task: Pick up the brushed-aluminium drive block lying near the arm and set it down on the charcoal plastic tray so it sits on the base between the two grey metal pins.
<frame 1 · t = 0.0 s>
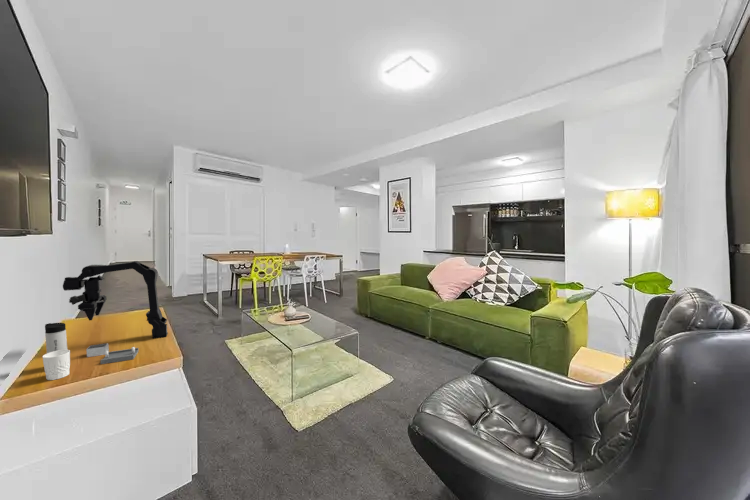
hand: (94, 317, 156), 15 cm above the tv stand, fingers open, 9 cm apart
drive: (98, 354, 146), on the tv stand
travel mug: (58, 367, 132), on the tv stand
white cup: (58, 376, 124), on the tv stand
tray: (120, 357, 142), on the tv stand
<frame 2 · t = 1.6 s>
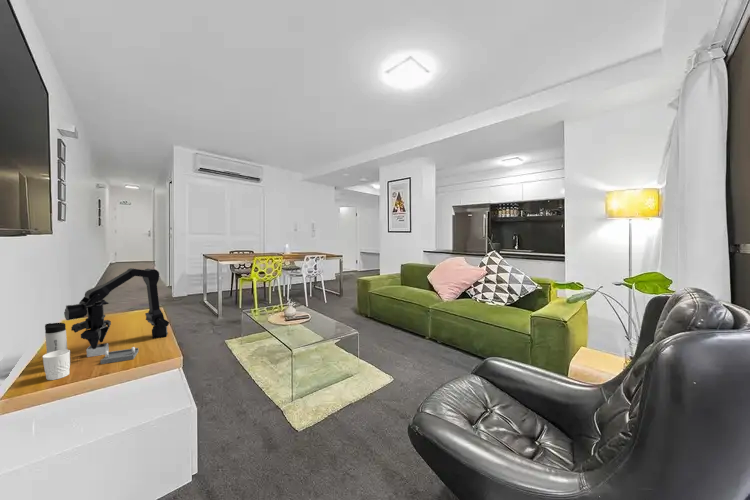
hand: (97, 345, 146), 4 cm above the tv stand, fingers open, 9 cm apart
nothing on the tv stand moved.
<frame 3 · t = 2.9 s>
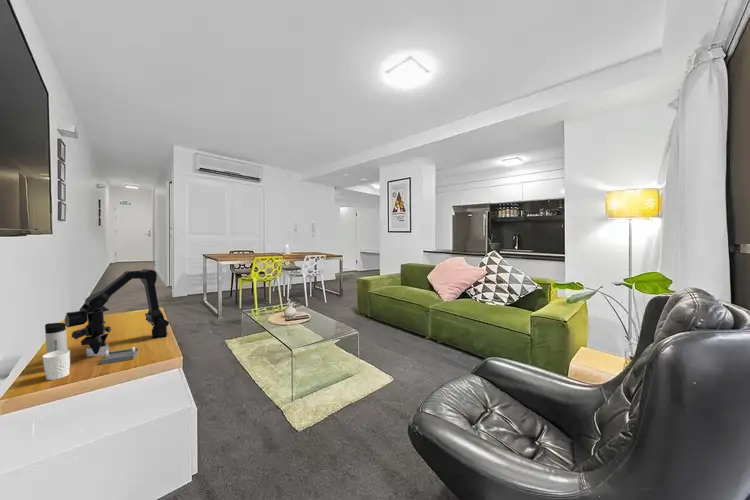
hand: (97, 351, 146), 1 cm above the tv stand, fingers closed on drive, 4 cm apart
drive: (98, 354, 146), on the tv stand, touching gripper
everything else where it was.
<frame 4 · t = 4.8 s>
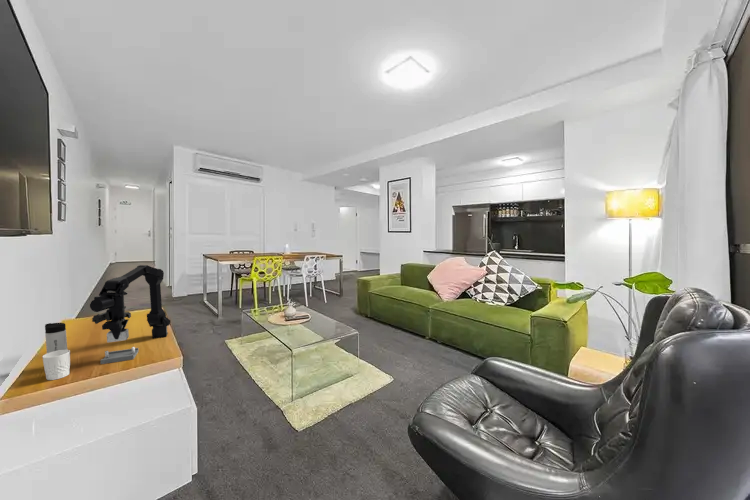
hand: (118, 337, 142), 10 cm above the tv stand, fingers closed on drive, 4 cm apart
drive: (118, 339, 142), point 9 cm above the tv stand, touching gripper
everything else where it was.
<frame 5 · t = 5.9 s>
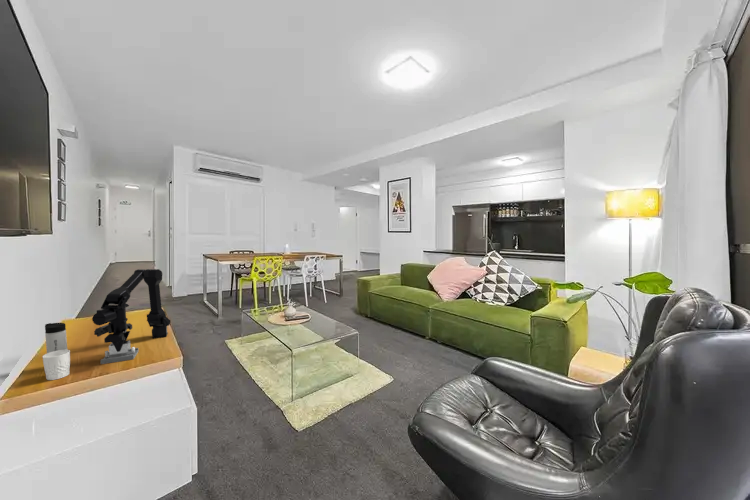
hand: (120, 349, 142), 4 cm above the tv stand, fingers closed on drive, 4 cm apart
drive: (120, 351, 142), point 3 cm above the tv stand, touching gripper
everything else where it was.
when the fingers open (3 cm above the tv stand, at t = 6.8 s): drive drops 1 cm, resting on tray.
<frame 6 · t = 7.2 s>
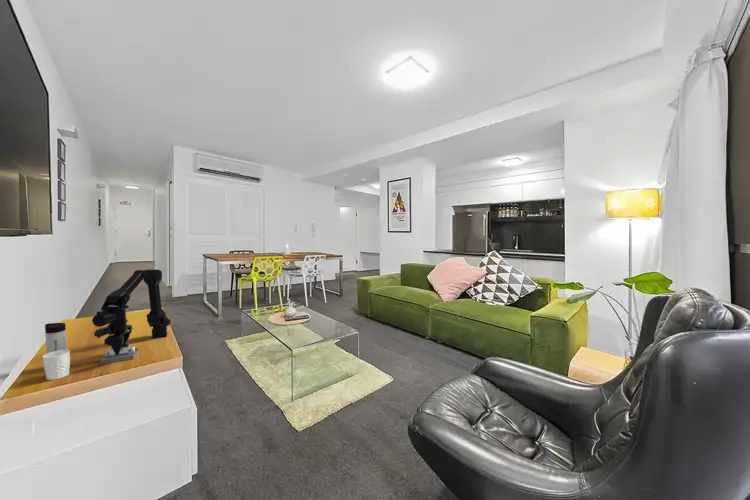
hand: (120, 351, 142), 3 cm above the tv stand, fingers open, 9 cm apart
drive: (120, 355, 142), point 1 cm above the tv stand, touching tray
everything else where it was.
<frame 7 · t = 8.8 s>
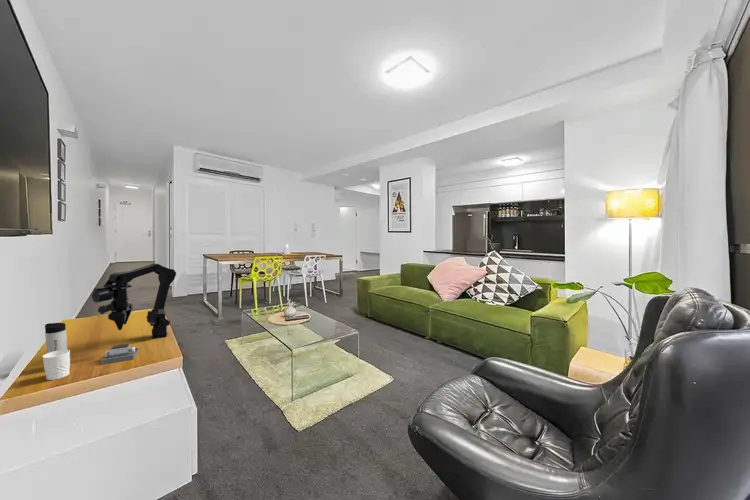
hand: (122, 327, 151), 12 cm above the tv stand, fingers open, 9 cm apart
nothing on the tv stand moved.
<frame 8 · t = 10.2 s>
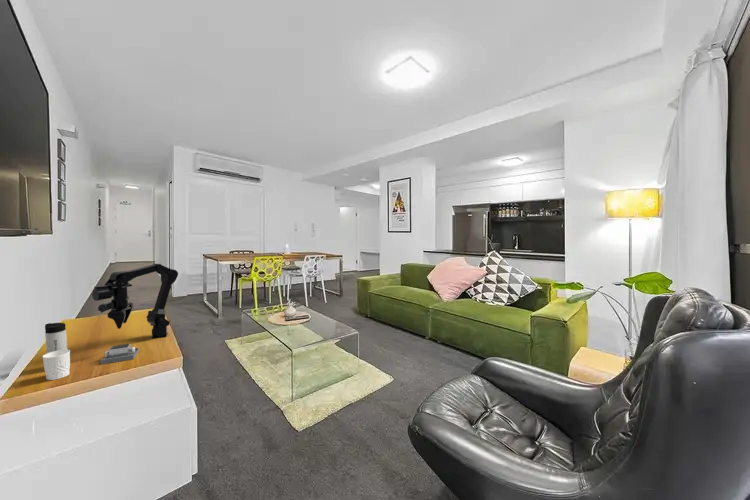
hand: (122, 325, 152), 12 cm above the tv stand, fingers open, 9 cm apart
nothing on the tv stand moved.
at the end: drive 0.0 cm off-centre on the tray, point 1.2 cm above the tray's base; drive tilted 0°; the gripper is holding nothing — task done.
